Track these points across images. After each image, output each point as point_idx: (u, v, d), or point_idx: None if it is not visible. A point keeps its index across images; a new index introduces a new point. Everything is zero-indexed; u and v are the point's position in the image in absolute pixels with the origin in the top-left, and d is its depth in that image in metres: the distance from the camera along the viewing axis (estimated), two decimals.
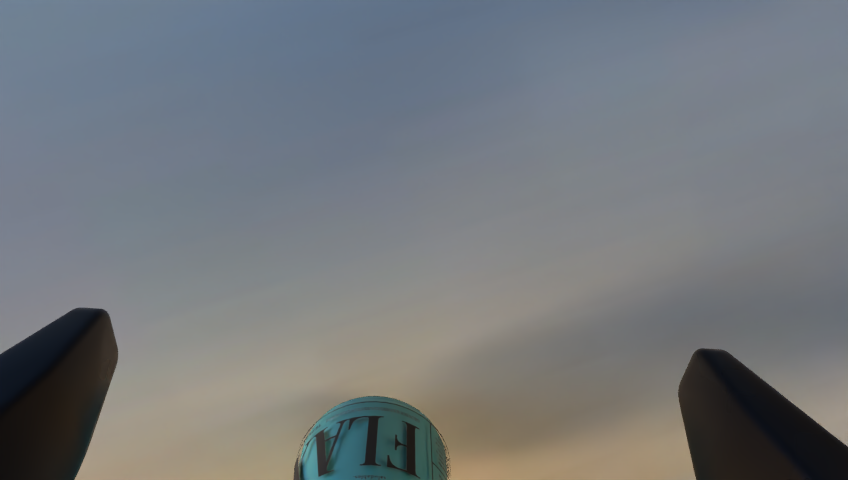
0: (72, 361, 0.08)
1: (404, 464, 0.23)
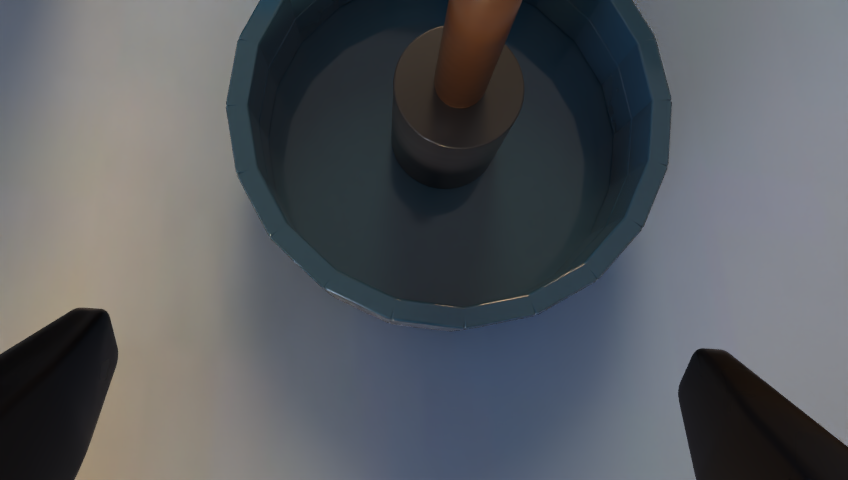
0: (72, 361, 0.08)
1: None
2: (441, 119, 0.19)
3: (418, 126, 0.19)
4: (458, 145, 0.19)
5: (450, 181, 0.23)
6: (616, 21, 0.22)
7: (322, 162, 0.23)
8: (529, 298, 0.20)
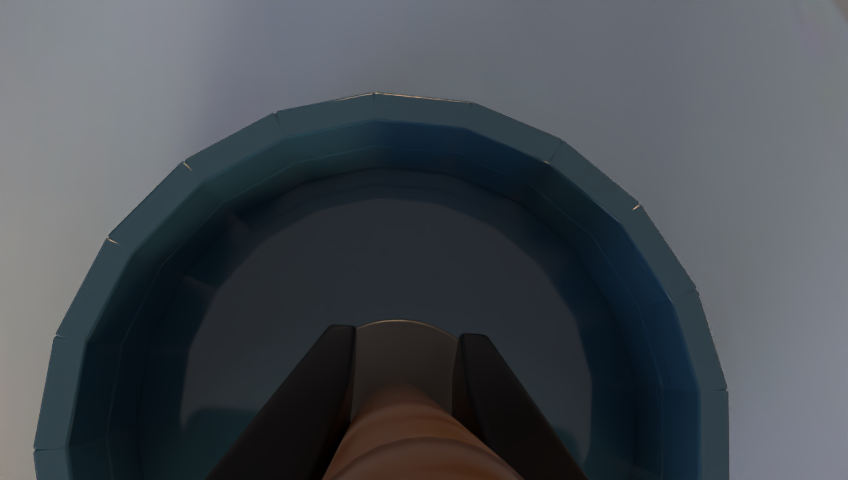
0: (350, 378, 0.08)
1: None
2: None
3: None
4: None
5: None
6: (636, 260, 0.14)
7: (216, 456, 0.16)
8: None
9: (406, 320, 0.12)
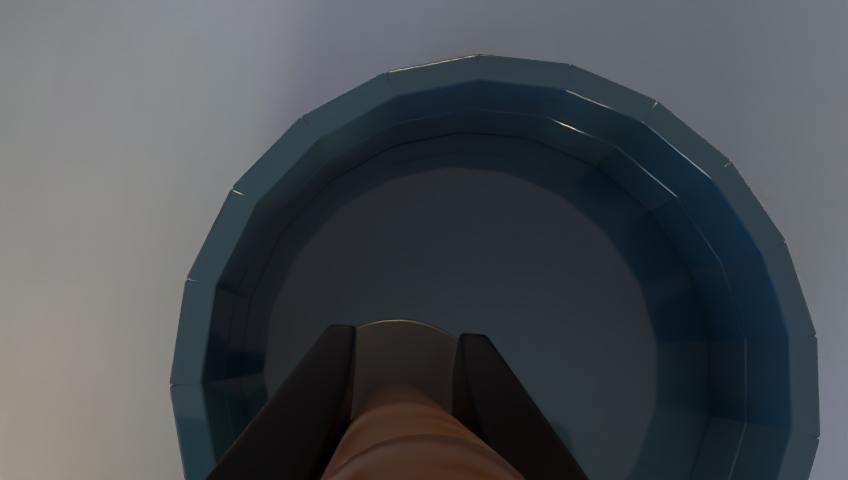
0: (350, 378, 0.08)
1: None
2: None
3: None
4: None
5: None
6: (726, 215, 0.15)
7: None
8: None
9: (406, 320, 0.12)
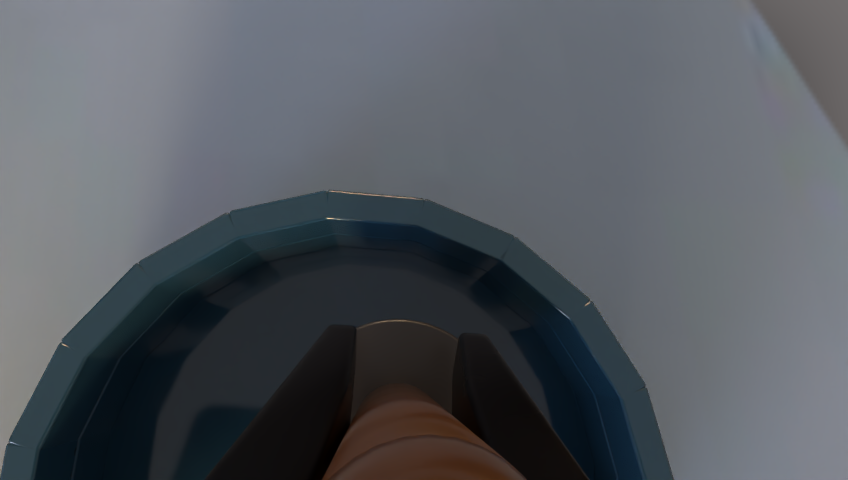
0: (350, 378, 0.08)
1: None
2: None
3: None
4: None
5: None
6: (588, 356, 0.15)
7: None
8: None
9: (406, 320, 0.12)
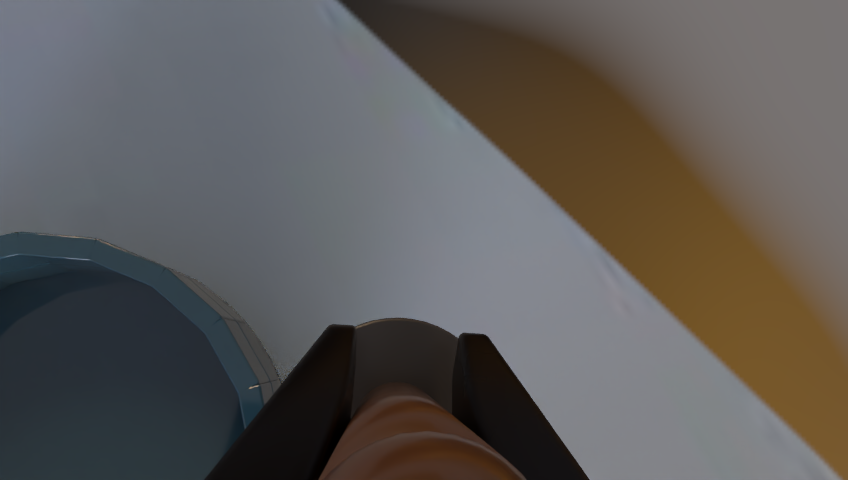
0: (350, 378, 0.08)
1: None
2: None
3: None
4: None
5: None
6: (179, 309, 0.19)
7: None
8: None
9: (405, 319, 0.12)
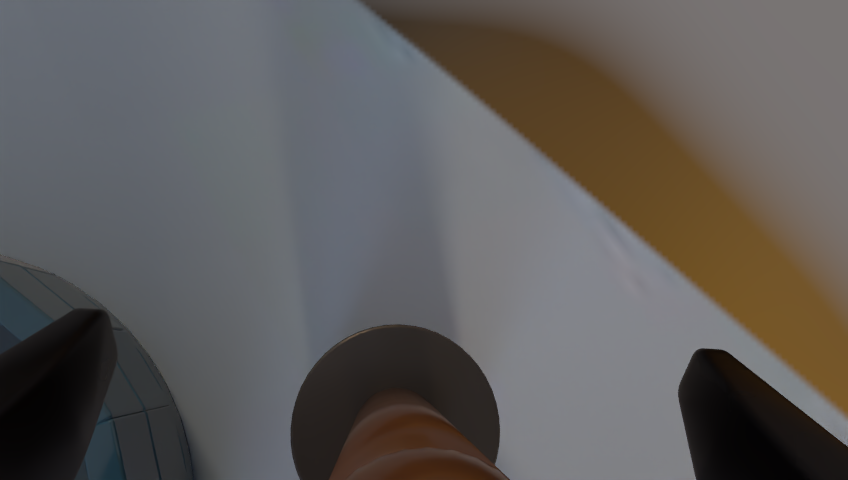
0: (72, 361, 0.08)
1: None
2: None
3: None
4: None
5: None
6: None
7: None
8: None
9: (405, 326, 0.12)
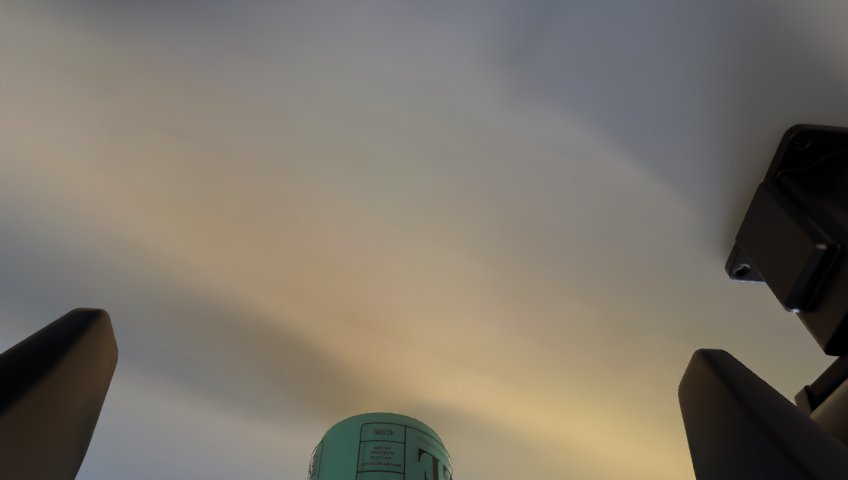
0: (72, 361, 0.08)
1: None
2: None
3: None
4: None
5: None
6: None
7: None
8: None
9: None
